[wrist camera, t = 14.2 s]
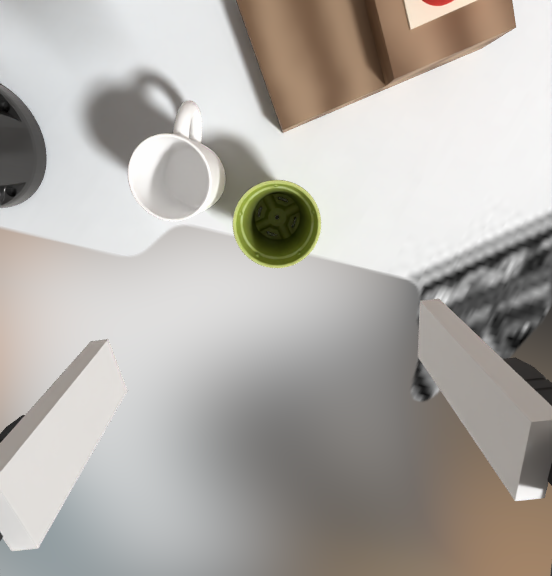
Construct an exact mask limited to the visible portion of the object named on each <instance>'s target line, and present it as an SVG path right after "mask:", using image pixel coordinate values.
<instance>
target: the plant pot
mask: <svg viewBox="0 0 552 576" xmlns="http://www.w3.org/2000/svg"><path fill="white" fill-rule="evenodd" d="M278 197H282V198H285V199H287V200H288V202H285V201H283V200H278V199H277V198H278ZM260 207H262V210H261V213H260V217H258V211H259V208H260ZM276 215H278V216H279V219H276V218H275V216H276ZM295 217H296V222H295V226H294V227H291V226H292V224H293V221H294V218H295ZM320 230H321V217H320V213H319V209H318V207H317V204H316V202H315V201H314V199H313V198H312V196H311V195H310V194H309V193H308V192H307V191H306V190H305V189H303V188H302V187H300V186H299V185H297V184H294V183H292V182H289V181H284V180H270V181H265V182H262V183H259V184H257V185H255V186H253V187H252V188H250V189H249V190H248V191H247V192H246V193H245V194H244V195H243V196H242V197H241V199H240V200H239V202H238V204H237V206H236V208H235V211H234V216H233V232H234V236H235V239H236V241H237V243H238V246H239V247H240V249H241V250H242V252H243V253H244V254H245V255H246V256H247V257H248V258H249V259H251V260H252V261H254V262H255V263H257V264H259V265H262V266H266V267H270V268H283V267H288V266H291V265H294V264H296V263H298V262H300V261H302V260H303V259H304V258H305V257H306V256H308V255H309V254H310V252H311V251H312V250H313V248H314V247H315V245H316V243H317V241H318V238H319V235H320ZM267 231H269V232H271V233H273V234H277V235H276V236H271V235H268V234H267Z"/></svg>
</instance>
